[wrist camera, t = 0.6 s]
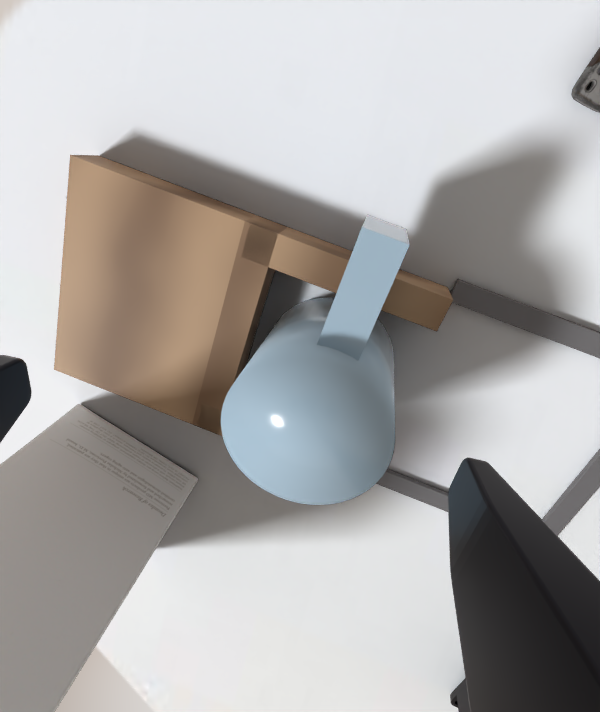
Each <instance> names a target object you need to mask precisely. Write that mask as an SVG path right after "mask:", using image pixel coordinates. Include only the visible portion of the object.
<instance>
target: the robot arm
mask: <svg viewBox="0 0 600 712" xmlns="http://www.w3.org/2000/svg"><path fill="white" fill-rule="evenodd" d="M30 398H31V387H30V381H29V376H28V371H27V366H26V363H25V362H24V361H23V360H22V359H20V358H16V357H11V356H7V355H0V442H1V441H2V440H3V438H4V437H5V435H6V434H7V433H8V431H9V430H10V428H11V427H12V426H13V424H14V423H15V421H16V420H17V419H18V417H19V416H20V414H21V413H22V412H23V410H24V409H25V407H26V406H27V405H28V403H29V401H30ZM448 512H449V545H450V570H451V579H452V587H453V594H454V601H455V608H456V615H457V622H458V629H459V635H460V642H461V649H462V656H463V663H464V670H465V677H466V678H465V679H464V680H463V681H462V683H461V684H460V685H459V686H458V687H457V688H456V689H455V690H454V691H453V692H452V693H451V695H450V698H451V704H452V705H453V706H455V707H457V708H458V710H459V712H600V581H599V580H598V579H597V578H596V577H595V576H594V574H593V573H592V572H591V571H590V570H589V569H588V568H587V567H586V566H585V565H584V564H583V563H582V562H581V561H580V560H579V559H578V557H577V556H576V555H575V554H574V553H573V552H572V551H571V550H570V549H569V548H568V547H567V546H566V545H565V544H564V543H563V542H562V541H561V539H560V538H559V537H558V536H557V535H556V534H555V533H554V532H553V531H552V530H551V529H550V528H549V527H548V526H547V525H546V524H545V523H544V521H543V520H542V519H541V518H540V517H539V516H538V515H537V514H536V513H535V512H534V511H533V510H532V509H531V508H530V507H529V506H528V504H527V503H526V502H525V501H524V500H523V499H522V498H521V497H520V496H519V495H518V494H517V493H516V492H515V491H514V490H513V489H512V488H511V486H510V485H509V484H508V483H507V482H506V481H505V480H504V479H503V478H502V477H501V476H500V475H499V474H498V473H497V472H496V471H495V469H494V468H493V467H492V466H491V465H490V464H489V463H487V462H485V461H482V460H477V459H473V458H466V459H464V460H463V461H462V463H461V465H460V467H459V469H458V471H457V473H456V475H455V477H454V479H453V481H452V484H451V486H450V489H449V493H448Z"/></svg>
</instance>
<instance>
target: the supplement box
mask: <svg viewBox="0 0 600 712" xmlns="http://www.w3.org/2000/svg"><path fill="white" fill-rule="evenodd" d="M197 481H198V478H197V477H195V476H194V475H192V474H190V473H189V472H187V471H186V470H184V469H182V468H181V467H179V466H178V465H176V464H174V463H173V462H171V461H170V460H168V459H166V458H165V457H163V456H162V455H160V454H158V453H157V452H155V451H154V450H152V449H151V448H149V447H147V446H146V445H144V444H143V443H141V442H139V441H138V440H136V439H135V438H133V437H131V436H130V435H128V434H127V433H125V432H124V431H122V430H120V429H119V428H117V427H116V426H114V425H112V424H111V423H109V422H107V421H106V420H104V419H103V418H101V417H100V416H98V415H96V414H95V413H93V412H92V411H90V410H88V409H87V408H86V407H84V406H83V405H80V404H78V405H76V406H75V407H74V408H72V409H71V410H70V411H69V412H67V413H66V414H65V415H64V416H62V417H61V418H60V419H59V420H57V421H56V422H55V423H53V424H52V425H51V426H49V427H48V428H47V429H46V430H44V431H43V432H42V433H40V434H39V435H38V436H37V437H35V438H34V439H33V440H31V441H30V442H29V443H28V444H26V445H25V446H24V447H22V448H21V449H20V450H19V451H17V452H16V453H15V454H13V455H12V456H11V457H10V458H8V459H7V460H6V461H4V462H3V463H2V464H0V712H55V711H56V709H57V708H58V706H59V704H60V703H61V701H62V700H63V698H64V696H65V695H66V693H67V692H68V690H69V688H70V687H71V685H72V683H73V682H74V680H75V679H76V677H77V675H78V674H79V672H80V671H81V669H82V667H83V666H84V664H85V662H86V661H87V659H88V657H89V656H90V654H91V653H92V651H93V649H94V648H95V646H96V645H97V643H98V641H99V640H100V638H101V637H102V635H103V633H104V632H105V630H106V628H107V627H108V625H109V624H110V622H111V620H112V619H113V617H114V616H115V614H116V612H117V611H118V609H119V607H120V606H121V604H122V603H123V601H124V599H125V598H126V596H127V594H128V593H129V591H130V590H131V588H132V586H133V585H134V583H135V582H136V580H137V578H138V577H139V575H140V573H141V572H142V570H143V569H144V567H145V565H146V564H147V562H148V560H149V559H150V557H151V556H152V554H153V552H154V551H155V549H156V547H157V546H158V544H159V543H160V541H161V539H162V538H163V536H164V534H165V533H166V531H167V530H168V528H169V526H170V525H171V523H172V521H173V520H174V518H175V517H176V515H177V513H178V512H179V510H180V509H181V507H182V505H183V504H184V502H185V501H186V499H187V497H188V496H189V494H190V492H191V491H192V489H193V488H194V486H195V484H196V483H197Z"/></svg>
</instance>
